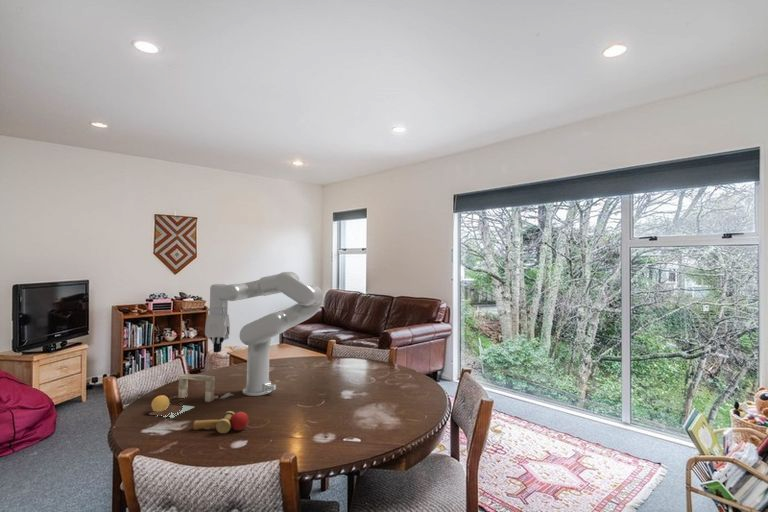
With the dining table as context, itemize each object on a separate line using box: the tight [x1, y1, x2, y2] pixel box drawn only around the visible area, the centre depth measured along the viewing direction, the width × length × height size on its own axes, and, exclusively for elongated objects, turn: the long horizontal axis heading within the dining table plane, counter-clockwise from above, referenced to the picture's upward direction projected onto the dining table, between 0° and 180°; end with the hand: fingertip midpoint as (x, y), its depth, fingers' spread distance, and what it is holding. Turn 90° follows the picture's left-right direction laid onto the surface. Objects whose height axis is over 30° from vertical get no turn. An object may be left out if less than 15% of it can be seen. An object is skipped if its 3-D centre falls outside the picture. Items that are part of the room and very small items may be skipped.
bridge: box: [177, 373, 216, 403], centre depth 164 cm, size 3×15×10 cm, turn 76°
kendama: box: [192, 410, 249, 434], centre depth 134 cm, size 8×6×18 cm
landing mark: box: [156, 404, 195, 419], centre depth 150 cm, size 12×12×1 cm
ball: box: [150, 394, 170, 412], centre depth 150 cm, size 6×6×6 cm
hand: (217, 351), depth 177 cm, fingers closed
